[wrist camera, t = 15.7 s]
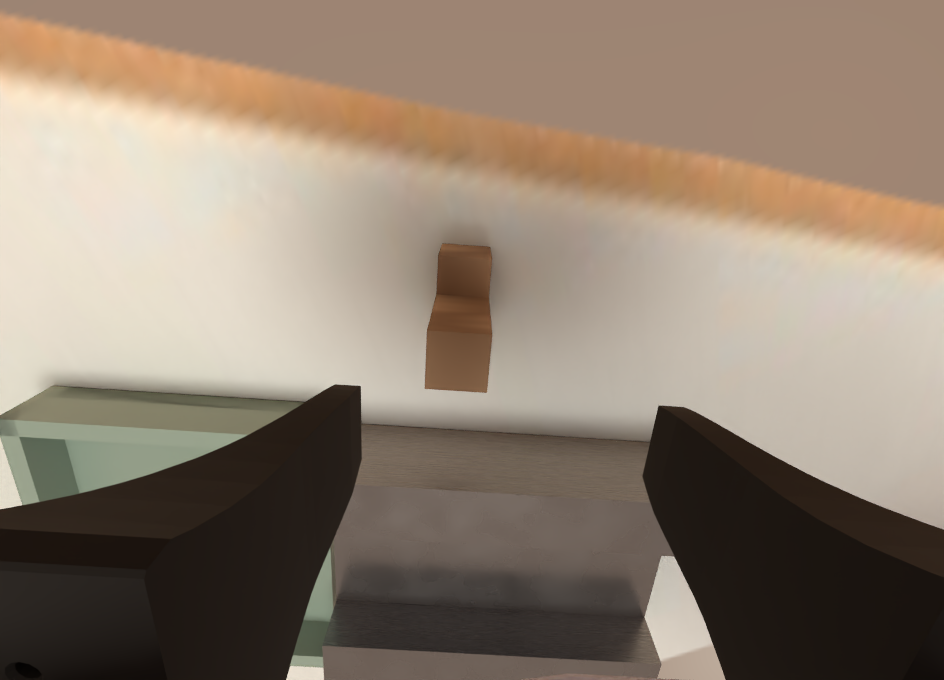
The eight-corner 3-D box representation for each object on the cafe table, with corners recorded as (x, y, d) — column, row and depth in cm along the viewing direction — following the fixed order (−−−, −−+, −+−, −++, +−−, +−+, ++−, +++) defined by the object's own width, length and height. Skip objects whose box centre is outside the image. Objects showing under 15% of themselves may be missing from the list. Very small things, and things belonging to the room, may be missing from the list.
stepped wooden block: (490, 246, 20) (496, 287, 14) (480, 355, 22) (483, 432, 16) (442, 243, 20) (428, 283, 14) (437, 352, 22) (423, 429, 16)
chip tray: (330, 403, 23) (310, 438, 20) (339, 616, 28) (324, 667, 25) (52, 385, 23) (-6, 418, 20) (112, 603, 28) (71, 654, 25)
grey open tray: (668, 443, 24) (710, 506, 20) (623, 619, 28) (649, 701, 24) (341, 422, 24) (312, 481, 19) (347, 604, 28) (324, 684, 24)
